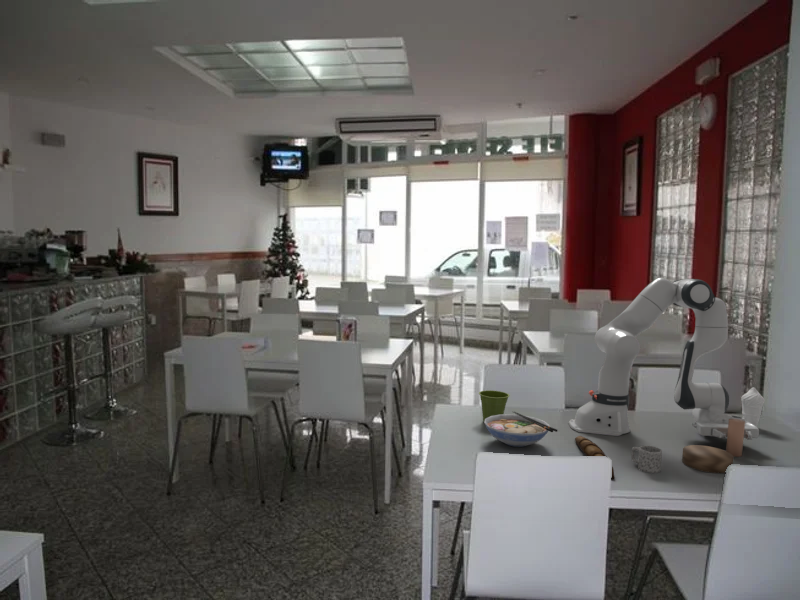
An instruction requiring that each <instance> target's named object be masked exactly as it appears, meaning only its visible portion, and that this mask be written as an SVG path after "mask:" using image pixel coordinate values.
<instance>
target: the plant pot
mask: <svg viewBox="0 0 800 600" xmlns="http://www.w3.org/2000/svg"><path fill="white" fill-rule="evenodd" d="M478 395H479V397H480V402H481V403H480V404H481V410H482V411H481V412H482V420H483V422H484V421H485V419H486V418H488V417H490V416H494V415H502V414H505V409H506V406H507V405H506V404H507V402H508V398H509V397H510V394H509V393H507V392H504V391H501V390H500V391H499V390H481V391H479V392H478Z"/></svg>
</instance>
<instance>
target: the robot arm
mask: <svg viewBox="0 0 800 600" xmlns="http://www.w3.org/2000/svg"><path fill="white" fill-rule="evenodd" d="M671 305H674V306H677V307H680V308H682V307H683V308H685V309H691V310H692V311H693V313H694V317H695V321H694V322H695V325H694V326H695V327H694V332H693V335H692V337H691V339H689V340H687V341H686V343H685V345H684V348H683V352H682V358H681V362H680V366H679V367H680V368H679V372H678V377H677V382H676V385H675V389H674V391H673V398H674V402H675V403H676V405H677V406H678V407H679V408H681V409H683V410H686V411H687V410H691V413H692V418H693V419H694V421H695V422H694V423H693V422H692V424H691V426H692V427H693V428H695V431H696V432H697V434H698V435H700V436H703V437H704V436H705V437H706V436H707V437H715V438H718V439H726V438H727V433H728V423H729V419H731V418H734V419H740V420H744V421H745V418H743V416H742V417H741V416H738V415H737V416H736V415H731V414H728V413H726V412H727V410H728V408H729V405H730V395H729V393H728V390H727V389H726V388H725V386H724V385H722V384H721V383H720V382H693V377H694V371H695V367H696V363H697V360H698V359H699V358H700V357H703V356H704V355H707V354H709V353H711V352H714V351H717V350H719V349H720V348H722V347H723V346H724V345H725V344H726V342H727V340H728V336H729V333H728V332H729V328H728V327H729V321H728V311H727V306H726V303H725V301H724V300H722V299H721V298H719V297H716V296H715V294H714V291H713V289H712V287H711V285H709V283H708V282H706V281H704V280H702V279H698V278H695V279H694V278H684V279H677V280H674V281H671V280H669V279H668V278H665V277H664V278H663V277H657V278H656V279H654V280H653V281H651V282H650V283H649V284H647V285H646V286H645V287H644V288H643V289H642V290H641V292H639V293H638V295H637V296H636V297H635V298H634V299H633V300H632V301H631V302H630V304H629V305H628V306H627V307H626V308H625V309H624V310H623V311H622V312H621V313H620V314H618V315H617V316H615V318H614V319H612V320H611V321H610V322H608V323H607V324H606V325H604V326H602V327H600V328H599V329H598V330H597V331H596V332H595V335H594V342H595V344H596V346H597V348H598V350H599V351H601V352H602V353H604V354H605V356H604V360H603V362H602V363H603V364H602V366H601V368H600V370H599V372H598V381H597V382H598V385H597V390H596V391H594V390H593V389H592V390H589V391H588V394H589V395H590V396H591V400H590V401H588V402H586V403H585V404H583V405H581V406H579V408H578V409H577V410H576V412H575V416H574V417H575V418H574V419H573V418H572V419H570V420H569V421H568V425H569V427H570V428H571V429H572V430H573V431H576V432H579V433H587V434H597V435H606V436H615V437H618V436H622V435H624V434H627V433H630V432H631V429H630V422H629V415H628V413H629V411H628V409H629V406H630V394H629V389H630V375H631V372H632V367H633V365H634V361H635V359H636V358H637V356H638V355H639V354H640V351H641V343H640V341H639V339H637V337H638V336H639V335H640V334H642V333H643V332H645V331H647V330H650V329H651V327H652V326H653V325H654V324H655V323H656V322H657V321H658V319H659V318H660V317H661V316H662V314H664V312H665V311H666V310H667V309H668V308H669V307H670V306H671ZM759 434H760V429H759V427H758V426H757V427H756V426H755V425H753V424H752V423H750V422H747V421H745V429H744V439H745V440H747V441H748V440H751V441H753V439H758V438H759V436H760V435H759Z"/></svg>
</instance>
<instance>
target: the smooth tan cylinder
mask: <svg viewBox="0 0 800 600" xmlns="http://www.w3.org/2000/svg"><path fill="white" fill-rule="evenodd" d="M744 429H745V421H744V420H740V419H734V418H731V419H729V423H728V433H727V437H726V446H725V451H727V452H729V453H731V454H732V455H733V457H734V458H741V457H743V448H744V439H745V438H744Z"/></svg>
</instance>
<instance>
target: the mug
mask: <svg viewBox="0 0 800 600" xmlns="http://www.w3.org/2000/svg"><path fill="white" fill-rule="evenodd" d="M636 451H637V452H638V459H637V458H636V457H635V453H636ZM662 454H663V450H662V449H661V448H659V447H657V446H652V445H641V446H640V447H639V446H633V447H632V448H631V452H630V459H631V461H633V462H634V463H636V464H637V470H639V469H640V470H639V471H641V470H642V471H641V472H643V473H647V472H649V473H648V474H659V473H660V472H661V470H662V469H661V468H662V467H661V466H662Z"/></svg>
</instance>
